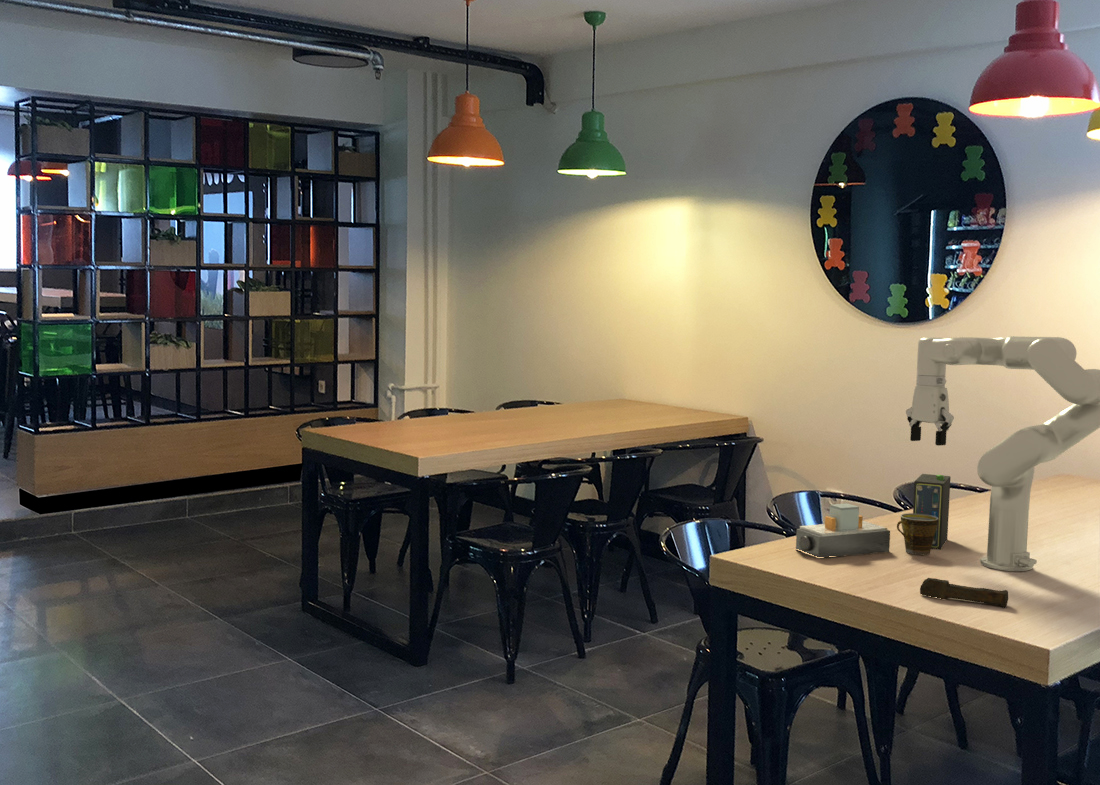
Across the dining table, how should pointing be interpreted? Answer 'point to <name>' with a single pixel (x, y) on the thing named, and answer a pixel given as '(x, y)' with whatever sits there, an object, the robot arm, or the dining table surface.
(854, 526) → the pale grey cube
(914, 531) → the ceramic cup
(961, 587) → the dark brown flashlight
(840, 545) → the grey toaster
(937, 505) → the dark grey box
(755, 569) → the dining table surface
